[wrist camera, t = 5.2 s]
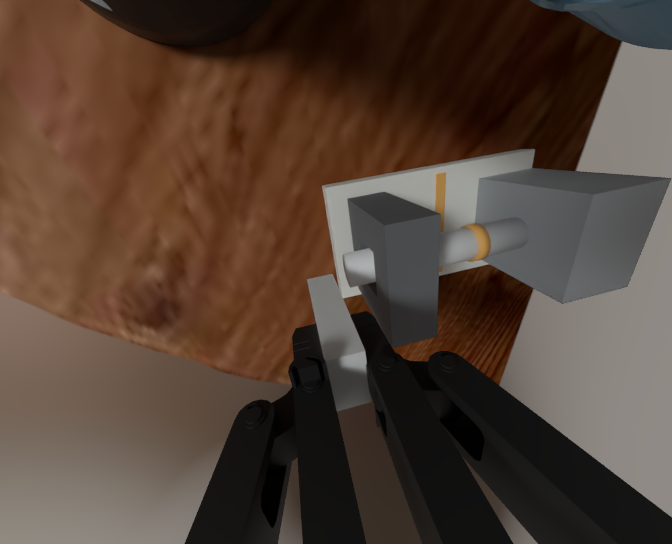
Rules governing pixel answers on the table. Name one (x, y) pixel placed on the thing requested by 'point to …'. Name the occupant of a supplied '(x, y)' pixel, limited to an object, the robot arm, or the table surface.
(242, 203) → the table surface
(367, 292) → the collar
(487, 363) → the table surface
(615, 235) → the rod stand
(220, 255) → the table surface
